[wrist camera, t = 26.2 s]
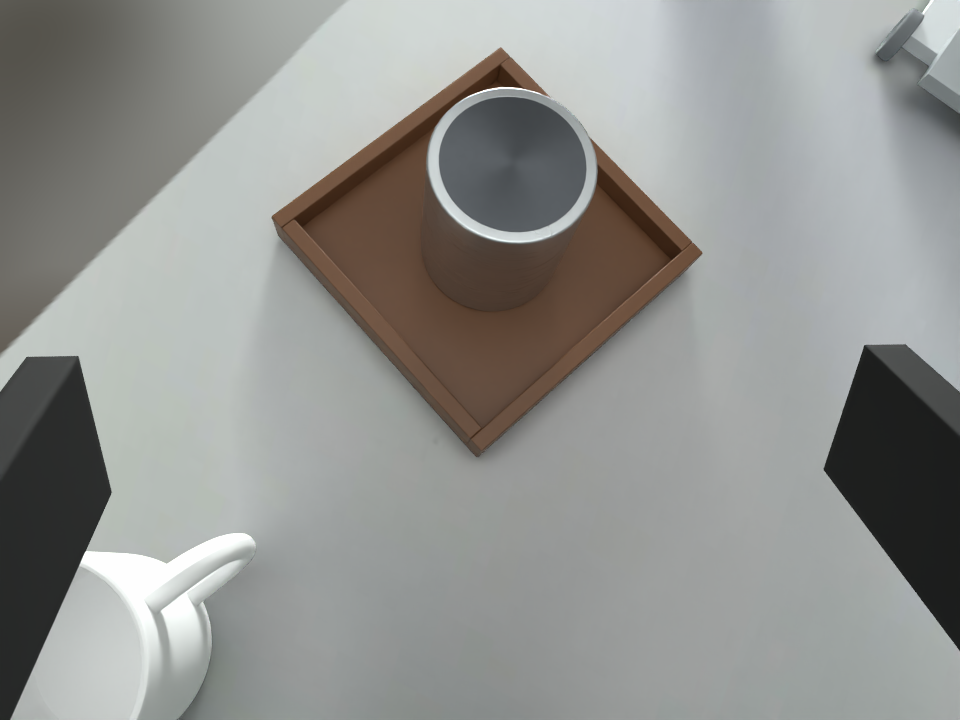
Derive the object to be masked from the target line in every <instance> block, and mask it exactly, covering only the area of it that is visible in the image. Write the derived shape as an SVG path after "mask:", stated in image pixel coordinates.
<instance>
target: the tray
mask: <svg viewBox="0 0 960 720" xmlns="http://www.w3.org/2000/svg"><path fill="white" fill-rule="evenodd" d="M494 88H520V89H526V90H530V91H534V92H537V93H540V94H542V95H545V96H547V97H549V96H548V94H547V93H546V92H545V91H544V90H543V89H542V88H541V87H540V86H539V85H538V84H537V83H536V82H535V81H534V80H533V79H532V78H531V77H530V76H529V75H528V74H527V73H526V72H525V71H524V70H523V69H522V68H521V67H520V66H519V65H518V64H517V63H516V62H515V61H514V60H513V59H512V58H511V57H510V56H509V55H508V54H507V53H506V52H505V51H504V50H503V49H502V48H499V49H498V50H496V51H495V52H494V53H492V54H491V55H490V56H488V57H487V58H485V59H484V60H483V61H481V62H480V63H479V64H477V65H476V66H475V67H473V68H472V69H471V70H469V71H468V72H467V73H465V74H464V75H462V76H461V77H460V78H458V79H457V80H456V81H454V82H453V83H452V84H450V85H449V86H448V87H446V88H445V89H444V90H442V91H441V92H439V93H438V94H437V95H435V96H434V97H433V98H431V99H430V100H429V101H427V102H426V103H425V104H423V105H422V106H420V107H419V108H418V109H416V110H415V111H414V112H412V113H411V114H410V115H408V116H407V117H406V118H404V119H403V120H402V121H400V122H399V123H397V124H396V125H395V126H393V127H392V128H391V129H389V130H388V131H387V132H385V133H384V134H383V135H381V136H380V137H379V138H377V139H376V140H374V141H373V142H372V143H370V144H369V145H368V146H366V147H365V148H364V149H362V150H361V151H360V152H358V153H357V154H356V155H354V156H353V157H351V158H350V159H349V160H347V161H346V162H345V163H343V164H342V165H341V166H339V167H338V168H337V169H335V170H334V171H333V172H331V173H330V174H328V175H327V176H326V177H324V178H323V179H322V180H320V181H319V182H318V183H316V184H315V185H314V186H312V187H311V188H310V189H308V190H307V191H305V192H304V193H303V194H301V195H300V196H299V197H297V198H296V199H295V200H293V201H292V202H291V203H289V204H288V205H286V206H285V207H284V208H282V209H281V210H280V211H278V212H277V213H276V214H274V215H273V216H272V219H273V222H274V225H275V228H276V230H277V233H278V236H279V237H280V238H281V239H282V240H283V241H284V242H285V243H286V244H287V246H288V247H289V248H290V249H291V250H292V251H293V252H294V253H295V255H296V256H297V257H298V258H299V259H300V260H301V261H302V262H303V263H304V265H305V266H306V267H307V268H308V269H309V270H310V271H311V272H312V274H313V275H314V276H315V277H316V278H317V279H318V280H319V281H320V282H321V284H322V285H323V286H324V287H325V288H326V289H327V290H328V291H329V293H330V294H331V295H332V296H333V297H334V298H335V299H336V300H337V302H338V303H339V304H340V305H341V306H342V307H343V308H344V309H345V310H346V312H347V313H348V314H349V315H350V316H351V317H352V318H353V319H354V321H355V322H356V323H357V324H358V325H359V326H360V327H361V328H362V329H363V331H364V332H365V333H366V334H367V335H368V336H369V337H370V338H371V340H372V341H373V342H374V343H375V344H376V345H377V346H378V347H379V348H380V350H381V351H382V352H383V353H384V354H385V355H386V356H387V357H388V359H389V360H390V361H391V362H392V363H393V364H394V365H395V366H396V367H397V369H398V370H399V371H400V372H401V373H402V374H403V375H404V376H405V378H406V379H407V380H408V381H409V382H410V383H411V384H412V385H413V387H414V388H415V389H416V390H417V391H418V392H419V393H420V394H421V395H422V397H423V398H424V399H425V400H426V401H427V402H428V403H429V404H430V406H431V407H432V408H433V409H434V410H435V411H436V412H437V413H438V414H439V416H440V417H441V418H442V419H443V420H444V421H445V422H446V423H447V425H448V426H449V427H450V428H451V429H452V430H453V431H454V432H455V433H456V435H457V436H458V437H459V438H460V439H461V440H462V441H463V442H464V444H465V445H466V446H467V447H468V448H469V449H470V450H471V451H472V453H473V454H474V455H475V456H476V457H479V456H480V455H481V454H482V453H483V452H484V451H485V450H486V449H488V448H489V447H490V446H491V445H492V444H493V443H494V442H495V441H496V440H498V439H499V438H500V437H501V436H502V435H503V434H504V433H505V432H507V431H508V430H509V429H510V428H511V427H512V426H513V425H514V424H515V423H517V422H518V421H519V420H520V419H521V418H522V417H523V416H524V415H525V414H527V413H528V412H529V411H530V410H531V409H532V408H533V407H534V406H535V405H537V404H538V403H539V402H540V401H541V400H542V399H543V398H544V397H546V396H547V395H548V394H549V393H550V392H551V391H552V390H553V389H554V388H556V387H557V386H558V385H559V384H560V383H561V382H562V381H563V380H564V379H566V378H567V377H568V376H569V375H570V374H571V373H572V372H573V371H574V370H576V369H577V368H578V367H579V366H580V365H581V364H582V363H583V362H585V361H586V360H587V359H588V358H589V357H590V356H591V355H592V354H593V353H595V352H596V351H597V350H598V349H599V348H600V347H601V346H602V345H603V344H605V343H606V342H607V341H608V340H609V339H610V338H611V337H612V336H613V335H615V334H616V333H617V332H618V331H619V330H620V329H621V328H622V327H624V326H625V325H626V324H627V323H628V322H629V321H630V320H631V319H632V318H634V317H635V316H636V315H637V314H638V313H639V312H640V311H641V310H642V309H644V308H645V307H646V306H647V305H648V304H649V303H650V302H651V301H652V300H654V299H655V298H656V297H657V296H658V295H659V294H660V293H661V292H663V291H664V290H665V289H666V288H667V287H668V286H669V285H670V284H671V283H673V282H674V281H675V280H676V279H677V278H678V277H679V276H680V275H681V274H683V273H684V272H685V271H686V270H687V269H688V268H689V267H690V266H691V265H692V264H693V263H694V262H695V261H696V260H697V259H698V258H699V257H700V256H701V255H702V251H701V250H700V249H699V248H698V247H697V246H696V245H695V244H694V243H692V241H691V240H690V239H689V238H688V237H687V236H686V235H685V234H684V233H683V232H682V231H681V230H680V229H679V228H678V227H677V226H676V225H675V224H674V223H673V222H672V221H671V220H670V219H669V218H668V217H667V216H666V215H665V214H664V213H663V212H662V211H661V210H660V209H659V208H658V207H657V206H656V205H655V203H654V202H653V201H652V200H651V199H650V198H649V197H648V196H647V195H646V194H645V193H644V192H643V191H642V190H641V189H640V188H639V187H638V186H637V185H636V184H635V183H634V182H633V181H632V180H631V179H630V178H629V177H628V176H627V175H626V174H625V173H624V172H623V171H622V170H621V169H620V168H619V167H618V166H617V165H616V164H615V163H614V162H613V161H612V160H611V159H610V158H609V157H608V156H607V155H606V154H605V153H604V152H603V151H602V149H601V148H600V147H599V146H598V145H597V144H596V143H595V142H594V141H593V140H592V139H591V138H590V137H589V138H590V140H591V142H592V145H593V147H594V150H595V154H596V159H597V170H598V173H597V183H596V187H595V192H594V194H593V197H592V199H591V202H590V204H589V206H588V208H587V210H586V211H585V213H584V215H583V217H582V219H581V221H580V223H579V225H578V227H577V229H576V231H575V232H574V234H573V236H572V238H571V240H570V242H569V244H568V246H567V248H566V250H565V252H564V254H563V255H562V257H561V259H560V261H559V263H558V265H557V267H556V269H555V271H554V273H553V275H552V276H551V278H550V280H549V282H548V283H547V285H546V286H545V287H544V288H543V290H542V291H541V292H540V293H539V294H538V295H537V296H535V297H534V298H533V299H531V300H530V301H528V302H526V303H524V304H523V305H520V306H518V307H515V308H512V309H508V310H503V311H482V310H476V309H472V308H469V307H466V306H464V305H461V304H459V303H458V302H456V301H454V300H452V299H451V298H450V297H448V296H447V295H445V294H444V293H443V292H442V291H441V290H440V289H439V288H438V287H437V285H436V284H435V283H434V282H433V280H432V279H431V277H430V275H429V274H428V272H427V269H426V267H425V265H424V261H423V258H422V251H421V235H422V220H423V204H424V189H425V174H426V158H427V150H428V145H429V141H430V138H431V135H432V133H433V131H434V129H435V127H436V125H437V124H438V122H439V121H440V119H441V118H442V117H443V116H444V115H445V113H446V112H447V111H448V110H449V109H451V108H452V107H453V106H454V105H455V104H457V103H458V102H460V101H461V100H463V99H464V98H466V97H468V96H470V95H473V94H475V93H478V92H481V91H484V90H489V89H494ZM549 98H550V97H549Z"/></svg>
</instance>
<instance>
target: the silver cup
mask: <svg viewBox="0 0 960 720" xmlns="http://www.w3.org/2000/svg"><path fill="white" fill-rule="evenodd" d="M597 173H598V170H597V159H596V154H595V150H594V147H593V145H592V142H591V140H590V138H589V136H588V134H587V132H586V130H585V129H584V127H583V126H582V124H581V123H580V122H579V121H578V119H577V118H576V117H575V116H574V115H573V114H572V113H571V112H570V111H569V110H567V109H566V108H565V107H564V106H562V105H561V104H559V103H558V102H556V101H555V100H553V99H551V98H549V97H547V96H545V95H542V94H540V93H537V92H534V91H530V90H526V89H520V88H494V89H489V90H484V91H481V92H478V93H475V94H473V95H470V96H468V97H466V98H464V99H463V100H461V101H460V102H458V103H457V104H455V105H454V106H453V107H452V108H451V109H449V110H448V111H447V112H446V113H445V115H444V116H443V117H442V118H441V119H440V121H439V122H438V124H437V125H436V127H435V129H434V131H433V133H432V135H431V138H430V141H429V145H428V150H427V158H426V174H425V189H424V204H423V220H422V235H421V251H422V258H423V261H424V265H425V267H426V269H427V272H428V274H429V275H430V277H431V279H432V280H433V282H434V283H435V284H436V285H437V287H438V288H439V289H440V290H441V291H442V292H443V293H444V294H445V295H447V296H448V297H450V298H451V299H452V300H454V301H456V302H458V303H459V304H461V305H464V306H466V307H469V308H472V309H476V310H482V311H503V310H508V309H512V308H515V307H518V306H520V305H523V304H524V303H526V302H528V301H530V300H531V299H533V298H534V297H535V296H537V295H538V294H539V293H540V292H541V291H542V290H543V288H544V287H545V286H546V285H547V283H548V282H549V280H550V278H551V276H552V275H553V273H554V271H555V269H556V267H557V265H558V263H559V261H560V259H561V257H562V255H563V254H564V252H565V250H566V248H567V246H568V244H569V242H570V240H571V238H572V236H573V234H574V232H575V231H576V229H577V227H578V225H579V223H580V221H581V219H582V217H583V215H584V213H585V211H586V210H587V208H588V206H589V204H590V202H591V199H592V197H593V194H594V192H595V187H596V183H597Z"/></svg>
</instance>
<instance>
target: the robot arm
mask: <svg viewBox="0 0 960 720" xmlns="http://www.w3.org/2000/svg"><path fill="white" fill-rule="evenodd" d="M824 471H825V472H826V474H827V475H828V476H829V478H830V479H831V480H832V482H833V483H834V484H835V486H836V487H837V488H838V490H839V491H840V492H841V494H842V495H843V496H844V497H845V499H846V500H847V501H848V503H849V504H850V505H851V507H852V508H853V509H854V511H855V512H856V513H857V515H858V516H859V517H860V519H861V520H862V521H863V523H864V524H865V525H866V527H867V528H868V529H869V531H870V532H871V533H872V535H873V536H874V537H875V539H876V540H877V541H878V543H879V544H880V545H881V547H882V548H883V549H884V551H885V552H886V553H887V555H888V556H889V557H890V559H891V560H892V561H893V563H894V564H895V565H896V567H897V568H898V569H899V571H900V572H901V573H902V575H903V576H904V577H905V579H906V580H907V581H908V583H909V584H910V585H911V586H912V588H913V589H914V590H915V592H916V593H917V594H918V596H919V597H920V598H921V600H922V601H923V602H924V604H925V605H926V606H927V608H928V609H929V610H930V612H931V613H932V614H933V616H934V617H935V618H936V620H937V621H938V622H939V624H940V625H941V626H942V628H943V629H944V630H945V632H946V633H947V634H948V636H949V637H950V638H951V640H952V641H953V642H954V644H955V645H956V646H957V648H958V649H959V650H960V392H959V391H958V390H957V389H955V388H954V387H953V386H952V385H951V384H950V383H949V382H948V381H946V380H945V379H944V378H943V377H942V376H941V375H940V374H938V373H937V372H936V371H935V370H934V369H933V368H932V367H931V366H929V365H928V364H927V363H926V362H925V361H924V360H923V359H921V358H920V357H919V356H918V355H917V354H916V353H915V352H913V351H912V350H911V349H910V348H909V347H908V346H907V345H906V344H904V345H865V346H864V349H863V352H862V355H861V358H860V361H859V364H858V367H857V370H856V373H855V376H854V379H853V382H852V385H851V388H850V391H849V394H848V397H847V400H846V403H845V406H844V409H843V412H842V415H841V418H840V421H839V424H838V427H837V430H836V433H835V436H834V439H833V442H832V445H831V448H830V451H829V454H828V457H827V460H826V463H825V467H824ZM111 493H112V492H111V488H110V484H109V479H108V475H107V471H106V467H105V463H104V459H103V455H102V451H101V447H100V443H99V439H98V435H97V430H96V426H95V422H94V418H93V414H92V410H91V406H90V402H89V398H88V394H87V390H86V386H85V382H84V377H83V373H82V369H81V365H80V361H79V357H78V356H58V357H26V359H25V360H24V361H23V363H22V364H21V365H20V366H19V368H18V369H17V370H16V372H15V373H14V374H13V376H12V377H11V378H10V380H9V381H8V382H7V384H6V385H5V386H4V388H3V389H2V390H1V392H0V720H10V719H11V717H12V715H13V713H14V710H15V708H16V706H17V704H18V702H19V699H20V697H21V695H22V693H23V690H24V688H25V686H26V684H27V681H28V679H29V677H30V675H31V672H32V670H33V668H34V666H35V663H36V661H37V659H38V657H39V654H40V652H41V650H42V648H43V646H44V643H45V641H46V639H47V637H48V634H49V632H50V630H51V628H52V625H53V623H54V621H55V619H56V616H57V614H58V612H59V610H60V607H61V605H62V603H63V601H64V598H65V596H66V594H67V592H68V590H69V587H70V585H71V583H72V581H73V578H74V576H75V574H76V572H77V569H78V567H79V565H80V563H81V560H82V558H83V556H84V554H85V551H86V549H87V547H88V545H89V542H90V540H91V538H92V536H93V534H94V531H95V529H96V527H97V525H98V522H99V520H100V518H101V516H102V513H103V511H104V509H105V507H106V504H107V502H108V500H109V498H110V495H111Z"/></svg>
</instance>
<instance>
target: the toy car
mask: <svg viewBox="0 0 960 720" xmlns="http://www.w3.org/2000/svg"><path fill="white" fill-rule="evenodd" d="M901 47H902V48H904V49H905V50H907V51H908V52H909V53H911V54H912V55H914V56H915V57H917V58H918V59H919V60H921V61H922V62H924V63H925V64H927V65H928V66H929V68H928V69H927V70H926V72H925V73H924V75H923V76H922V78H921V79H920V81H919V82H918V83H917V84H918V85H919V86H921V87H922V88H923V89H925V90H926V91H928V92H929V93H931V94H932V95H933V96H935V97H936V98H938V99H939V100H941V101H942V102H943V103H945V104H946V105H948V106H949V107H951V108H952V109H954V110H955V111H956V112H958V113H959V114H960V0H931V1H930V3H929V4H928V5H927V7H926V8H925V9H924V11H923V12H922V13H921V12H919V11H918V10H916V9H915V8H913V9H911V10H910V11H909V12H908V13H907V14H906V15H905V16H904V17H903V18H902V19H901V20H900V21H899V23H898V24H897V25H896V26H895V27H894V29H893V30H892V31H891V32H890V33H889V35H888V36H887V37H886V38H885V40H884V41H883V42H882V44H881V45H880V46H879V48H878V49H877V51H876V55H877V56H878V57H880V58H881V59H883V60H884V61H888V60H889V59H891V58H892V57H893V56H894V55H895V54H896V53H897V51H898V50H899V49H900V48H901Z"/></svg>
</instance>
